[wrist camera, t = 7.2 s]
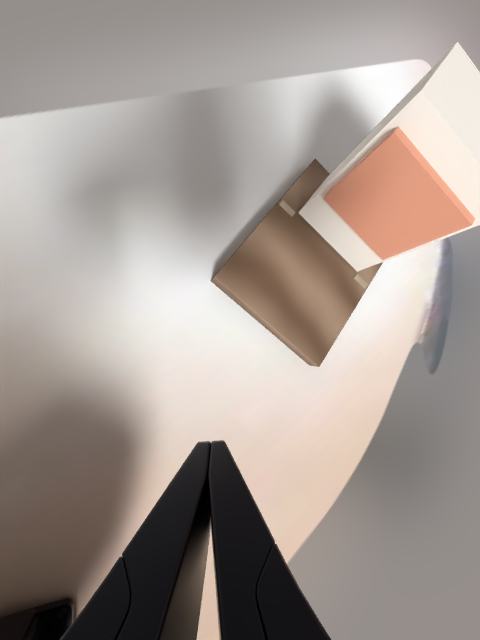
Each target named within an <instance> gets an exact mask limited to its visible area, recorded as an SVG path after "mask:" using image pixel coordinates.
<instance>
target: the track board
mask: <svg viewBox="0 0 480 640" xmlns="http://www.w3.org/2000/svg"><path fill="white" fill-rule="evenodd" d="M329 175H330V174H329V173H328V172H327V171H326V170H325V169H324V167H323V166H322V165H321V164H320V163H319V162H318V161H317V160H316V159H314V161H313V162H312V163H311V164H310V165H309V166H308V168H307V169H306V170H305V171H304V172H303V173H302V175H301V176H300V177H299V178H298V179H297V180H296V182H295V183H294V184H293V185H292V186H291V187H290V189H289V190H288V191H287V192H286V193H285V194H284V196H283V197H282V198H281V199H280V200H279V201H278V203H277V204H276V205H275V206H274V207H273V209H272V210H271V211H270V212H269V213H268V214H267V216H266V217H265V218H264V219H263V220H262V221H261V223H260V224H259V225H258V226H257V227H256V228H255V230H254V231H253V232H252V233H251V234H250V235H249V237H248V238H247V239H246V240H245V241H244V242H243V244H242V245H241V246H240V247H239V248H238V249H237V251H236V252H235V253H234V254H233V255H232V256H231V258H230V259H229V260H228V261H227V262H226V264H225V265H224V266H223V267H222V268H221V269H220V271H219V272H218V273H217V274H216V275H215V276H214V278H213V279H212V281H211V282H213V283H214V284H215V285H216V286H217V287H218V288H220V289H221V290H222V291H223V292H224V293H225V294H227V295H228V296H229V297H230V298H231V299H233V300H234V301H235V302H236V303H237V304H238V305H240V306H241V307H242V308H243V309H244V310H245V311H247V312H248V313H249V314H250V315H251V316H252V317H254V318H255V319H256V320H257V321H258V322H259V323H261V324H262V325H263V326H264V327H265V328H266V329H268V330H269V331H270V332H271V333H272V334H273V335H275V336H276V337H277V338H278V339H279V340H280V341H282V342H283V343H284V344H285V345H286V346H287V347H289V348H290V349H291V350H292V351H293V352H295V353H296V354H297V355H298V356H299V357H300V358H302V359H303V360H304V361H305V362H306V363H307V364H309V365H310V366H318V367H319V366H320V365H321V363H322V361H323V360H324V358H325V357H326V355H327V353H328V352H329V350H330V348H331V347H332V345H333V343H334V342H335V340H336V339H337V337H338V335H339V334H340V332H341V330H342V329H343V327H344V325H345V324H346V322H347V320H348V319H349V317H350V316H351V314H352V312H353V311H354V309H355V307H356V306H357V304H358V302H359V301H360V299H361V297H362V296H363V294H364V293H365V291H366V289H367V288H368V286H369V284H370V283H371V281H372V279H373V278H374V276H375V275H376V273H377V271H378V270H379V268H380V266H381V265H382V263H383V262H381V263H379V264H376V265H373V266H371V267H368V268H365V269H363V270H360V271H358V272H357V271H356V270H355V269H354V268H353V267H352V266H351V265H350V264H349V263H348V262H347V261H346V260H345V259H344V258H343V257H342V256H341V255H340V254H339V253H338V252H337V251H336V250H335V249H334V248H333V247H332V246H331V245H330V244H329V243H328V242H327V241H326V240H325V239H324V238H323V237H322V236H321V235H320V234H319V233H318V232H317V231H316V230H315V229H314V228H313V227H312V226H311V225H310V224H309V223H308V222H307V221H306V220H305V219H304V218H303V217H302V216H301V215H300V214H299V213H298V212H299V211H300V210H301V209H302V207H303V206H304V205H305V204H306V202H307V201H308V200H309V199H310V198H311V196H312V195H313V194H314V193H315V191H316V190H317V189H318V188H319V186H320V185H321V184H322V183H323V181H324V180H325V179H326V178H327V177H328V176H329Z"/></svg>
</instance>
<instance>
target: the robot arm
mask: <svg viewBox="0 0 480 640" xmlns="http://www.w3.org/2000/svg"><path fill="white" fill-rule="evenodd" d="M210 528H211V530H212V544H213V557H214V571H215V584H216V598H217V611H218V624H219V638H220V640H331V638H330V637H329V635H328V634H327V632H326V631H325V629H324V627H323V626H322V624H321V623H320V621H319V619H318V618H317V616H316V614H315V613H314V611H313V610H312V608H311V606H310V605H309V603H308V601H307V600H306V598H305V596H304V595H303V593H302V591H301V590H300V588H299V586H298V584H297V582H296V581H295V579H294V577H293V575H292V573H291V571H290V569H289V567H288V566H287V564H286V562H285V560H284V558H283V556H282V554H281V552H280V550H279V548H278V546H277V544H275V540H274V538H273V536H272V534H271V532H270V530H269V528H268V526H267V524H266V522H265V520H264V518H263V516H262V514H261V512H260V510H259V508H258V506H257V504H256V502H255V500H254V499H253V497H252V495H251V493H250V491H249V489H248V487H247V485H246V483H245V481H244V479H243V477H242V475H241V473H240V471H239V469H238V467H237V465H236V463H235V461H234V459H233V457H232V455H231V453H230V451H229V449H228V447H227V445H226V443H225V441H223V440H221V441H212V443H211V442H210V441H204V442H198V443H197V444H196V446H195V447H194V449H193V450H192V452H191V453H190V454H189V456H188V457H187V459H186V460H185V462H184V463H183V465H182V466H181V468H180V469H179V471H178V472H177V474H176V475H175V477H174V478H173V479H172V481H171V482H170V484H169V485H168V487H167V488H166V490H165V491H164V493H163V494H162V496H161V497H160V499H159V500H158V502H157V503H156V505H155V506H154V507H153V509H152V510H151V512H150V513H149V515H148V516H147V518H146V519H145V521H144V522H143V524H142V525H141V527H140V528H139V530H138V531H137V532H136V534H135V535H134V537H133V538H132V540H131V541H130V543H129V544H128V546H127V547H126V549H125V550H124V552H123V553H122V557H119V559H118V560H117V562H116V563H115V565H114V566H113V568H112V569H111V571H110V572H109V574H108V575H107V576H106V578H105V579H104V581H103V582H102V584H101V585H100V586H99V588H98V589H97V591H96V592H95V593H94V595H93V596H92V598H91V599H90V600H89V602H88V603H87V605H86V606H85V608H84V609H83V610H82V611H81V613H80V614H79V615H78V617H77V618H76V619H75V621H74V601H73V600H72V599H70V598H65V599H62V600H59V601H55V602H52V603H49V604H45V605H42V606H39V607H35V608H32V609H29V610H26V611H22V612H19V613H16V614H12V615H9V616H6V617H2V618H0V640H196V639H197V631H198V624H199V616H200V608H201V600H202V592H203V584H204V577H205V569H206V561H207V553H208V545H209V538H210ZM62 609H66V610H67V611H65V612H63V611H61V610H62Z"/></svg>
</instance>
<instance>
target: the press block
mask: <svg viewBox="0 0 480 640" xmlns="http://www.w3.org/2000/svg"><path fill="white" fill-rule="evenodd" d="M298 213H299V214H300V215H301V216H302V217H303V218H304V219H305V220H306V221H307V222H308V223H309V224H310V225H311V226H312V227H313V228H314V229H315V230H316V231H317V232H318V233H319V234H320V235H321V236H322V237H323V238H324V239H325V240H326V241H327V242H328V243H329V244H330V245H331V246H332V247H333V248H334V249H335V250H336V251H337V252H338V253H339V254H340V255H341V256H342V257H343V258H344V259H345V260H346V261H347V262H348V263H349V264H350V265H351V266H352V267H353V268H354V269H355V270H356V271H357V272H358V271H360V270H363V269H365V268H368V267H371V266H373V265H376V264H379V263H381V262H384V261H386V260H389V259H392V258H394V257H397V256H399V255H402V254H405V253H407V252H410V251H413V250H415V249H418V248H420V247H423V246H426V245H428V244H431V243H433V242H436V241H439V240H441V239H444V238H446V237H449V236H452V235H454V234H457V233H460V232H462V231H465V230H467V229H470V228H473V227H475V226H478V225H480V72H479V71H478V69H477V68H476V67H475V65H474V64H473V62H472V61H471V60H470V58H469V57H468V56H467V54H466V53H465V51H464V50H463V49H462V47H461V46H460V44H459V43H458V42H457V43H456V44H455V45H454V46H453V47H452V48H451V49H450V50H449V51H448V52H447V53H446V55H445V56H444V57H443V58H442V59H441V60H440V61H439V62H438V63H437V64H436V65H435V66H434V67H433V68H432V69H431V70H430V71H429V72H428V73H427V74H426V75H425V76H424V77H423V78H422V79H421V80H420V81H419V83H418V84H417V85H416V86H415V87H414V88H413V89H412V90H411V91H410V92H409V93H408V94H407V95H406V96H405V97H404V98H403V99H402V100H401V101H400V102H399V103H398V104H397V105H396V106H395V107H394V108H393V109H392V110H391V112H390V113H389V114H388V115H387V116H386V117H385V118H384V119H383V120H382V121H381V122H380V123H379V124H378V125H377V126H376V127H375V128H374V129H373V130H372V131H371V132H370V133H369V134H368V135H367V136H366V137H365V138H364V140H363V141H362V142H361V143H360V144H359V145H358V146H357V147H356V148H355V149H354V150H353V151H352V152H351V153H350V154H349V155H348V156H347V157H346V158H345V159H344V160H343V161H342V162H341V163H340V164H339V165H338V166H337V168H336V169H335V170H334V171H333V172H332V173H331V174H330V175H329V176H328V177H327V178H326V179H325V180H324V181H323V183H322V184H321V185H320V186H319V188H318V189H317V190H316V191H315V193H314V194H313V195H312V196H311V198H310V199H309V200H308V201H307V202H306V204H305V205H304V206H303V207H302V209H301V210H300V211H299V212H298Z"/></svg>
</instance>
